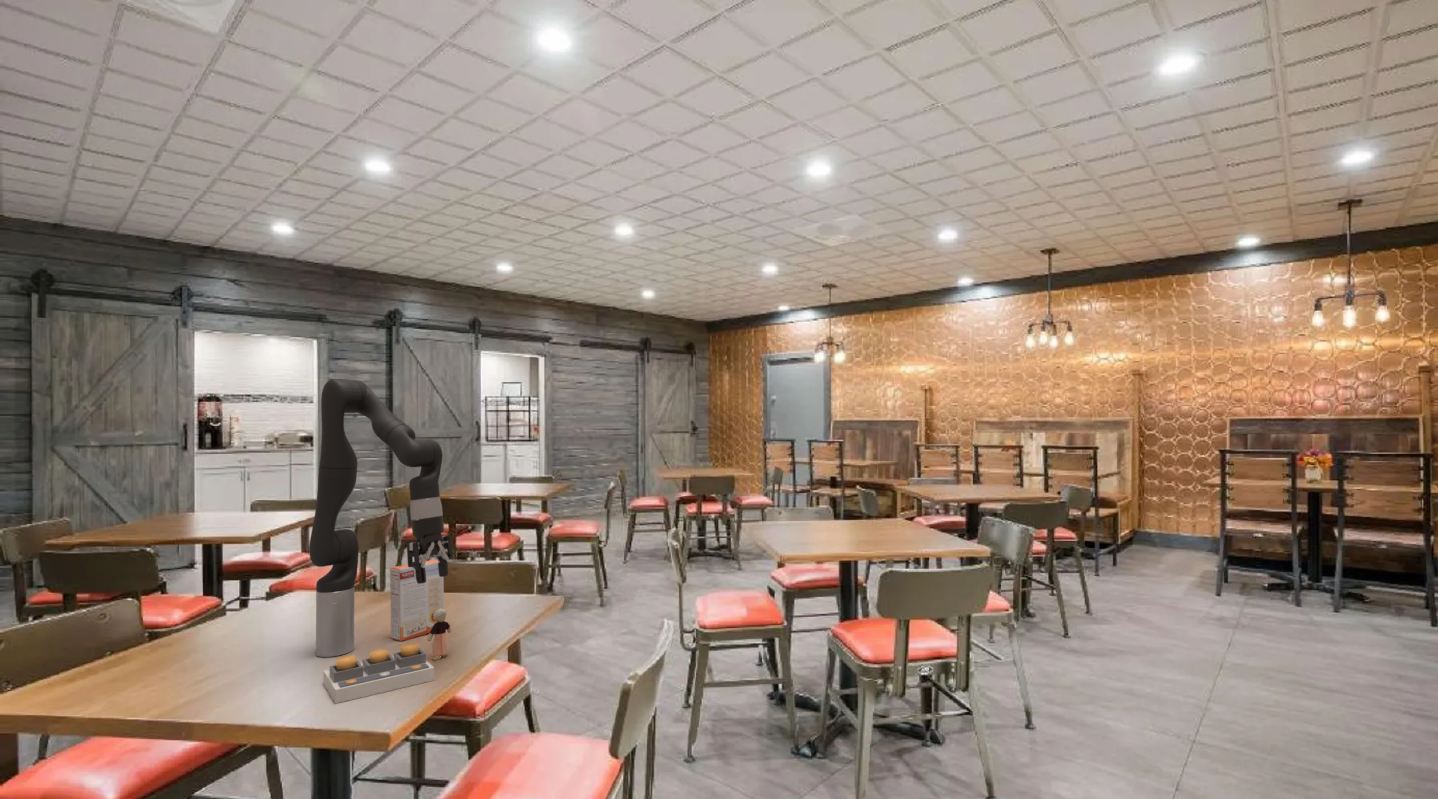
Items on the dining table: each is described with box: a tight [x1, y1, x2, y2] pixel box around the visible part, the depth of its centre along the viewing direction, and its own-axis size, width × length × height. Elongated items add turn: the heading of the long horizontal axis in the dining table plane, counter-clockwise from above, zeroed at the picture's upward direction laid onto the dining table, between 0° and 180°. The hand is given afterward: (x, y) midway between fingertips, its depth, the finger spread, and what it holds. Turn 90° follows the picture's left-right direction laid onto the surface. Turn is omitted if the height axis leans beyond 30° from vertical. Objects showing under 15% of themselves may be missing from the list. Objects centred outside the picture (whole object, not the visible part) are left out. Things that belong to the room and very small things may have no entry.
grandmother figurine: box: [426, 608, 452, 661], centre depth 180 cm, size 8×4×13 cm, turn 168°
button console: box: [322, 647, 435, 704], centre depth 162 cm, size 16×21×5 cm
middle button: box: [369, 648, 389, 663], centre depth 162 cm, size 4×4×2 cm
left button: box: [336, 654, 357, 670], centre depth 158 cm, size 4×4×2 cm
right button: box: [400, 642, 420, 656], centre depth 167 cm, size 4×4×2 cm
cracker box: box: [389, 559, 445, 642], centre depth 201 cm, size 14×6×21 cm, turn 144°
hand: (432, 579), depth 172 cm, fingers open, 8 cm apart
